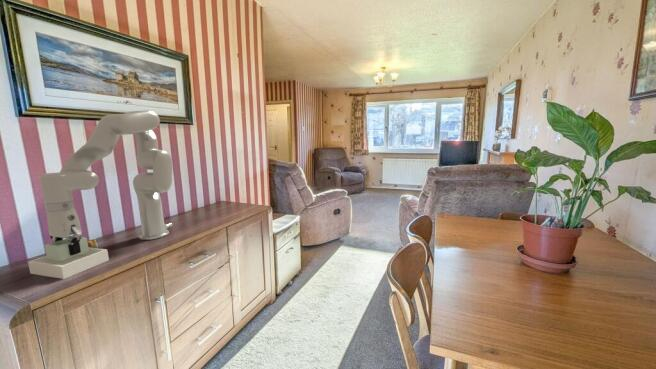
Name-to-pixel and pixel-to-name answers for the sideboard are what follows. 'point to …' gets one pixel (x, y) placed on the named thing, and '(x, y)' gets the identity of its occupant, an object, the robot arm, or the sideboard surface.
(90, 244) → the pastry
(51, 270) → the big crate
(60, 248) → the small crate
